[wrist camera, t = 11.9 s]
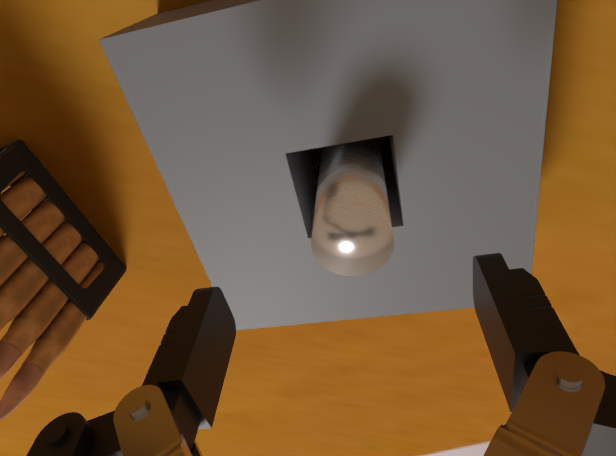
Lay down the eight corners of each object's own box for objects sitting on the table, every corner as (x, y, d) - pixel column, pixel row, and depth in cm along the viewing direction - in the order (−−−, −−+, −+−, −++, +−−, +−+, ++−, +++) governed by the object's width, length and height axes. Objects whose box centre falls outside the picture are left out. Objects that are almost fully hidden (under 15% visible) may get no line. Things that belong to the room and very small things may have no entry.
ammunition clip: (127, 269, 31) (25, 427, 21) (107, 275, 31) (-2, 433, 22) (21, 138, 25) (-184, 270, 16) (-2, 148, 26) (-214, 282, 16)
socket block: (251, 263, 30) (232, 330, 25) (157, 13, 21) (98, 39, 16) (495, 233, 27) (528, 302, 22) (504, -74, 18) (564, -75, 13)
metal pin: (329, 164, 25) (319, 280, 17) (318, 115, 23) (302, 216, 15) (381, 155, 24) (398, 271, 16) (374, 104, 23) (389, 204, 14)
